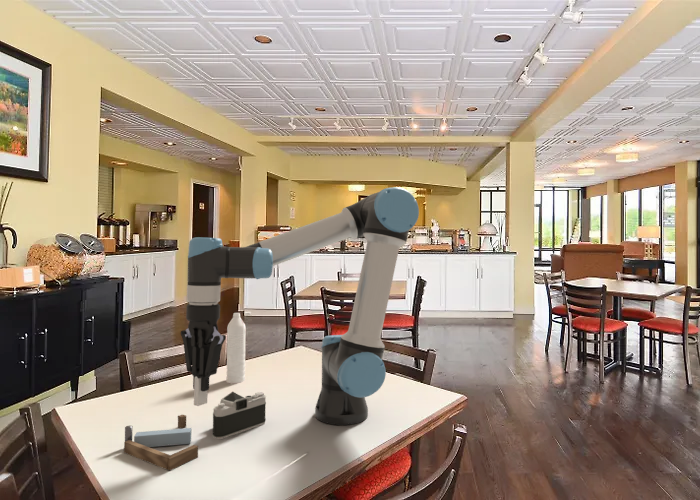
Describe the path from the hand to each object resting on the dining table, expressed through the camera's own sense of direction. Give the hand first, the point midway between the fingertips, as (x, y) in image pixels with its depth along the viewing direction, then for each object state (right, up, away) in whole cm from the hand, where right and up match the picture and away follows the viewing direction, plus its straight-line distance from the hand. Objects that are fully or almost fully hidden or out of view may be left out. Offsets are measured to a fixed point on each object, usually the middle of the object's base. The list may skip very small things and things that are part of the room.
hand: (200, 403), depth 105 cm
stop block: (-10, -11, +14) cm, 21 cm away
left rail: (-2, -11, -6) cm, 13 cm away
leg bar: (-10, -11, +3) cm, 15 cm away
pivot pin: (-18, -11, +1) cm, 21 cm away
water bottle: (-5, -12, +57) cm, 58 cm away
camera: (+5, -12, +15) cm, 19 cm away
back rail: (-10, -11, -5) cm, 16 cm away
